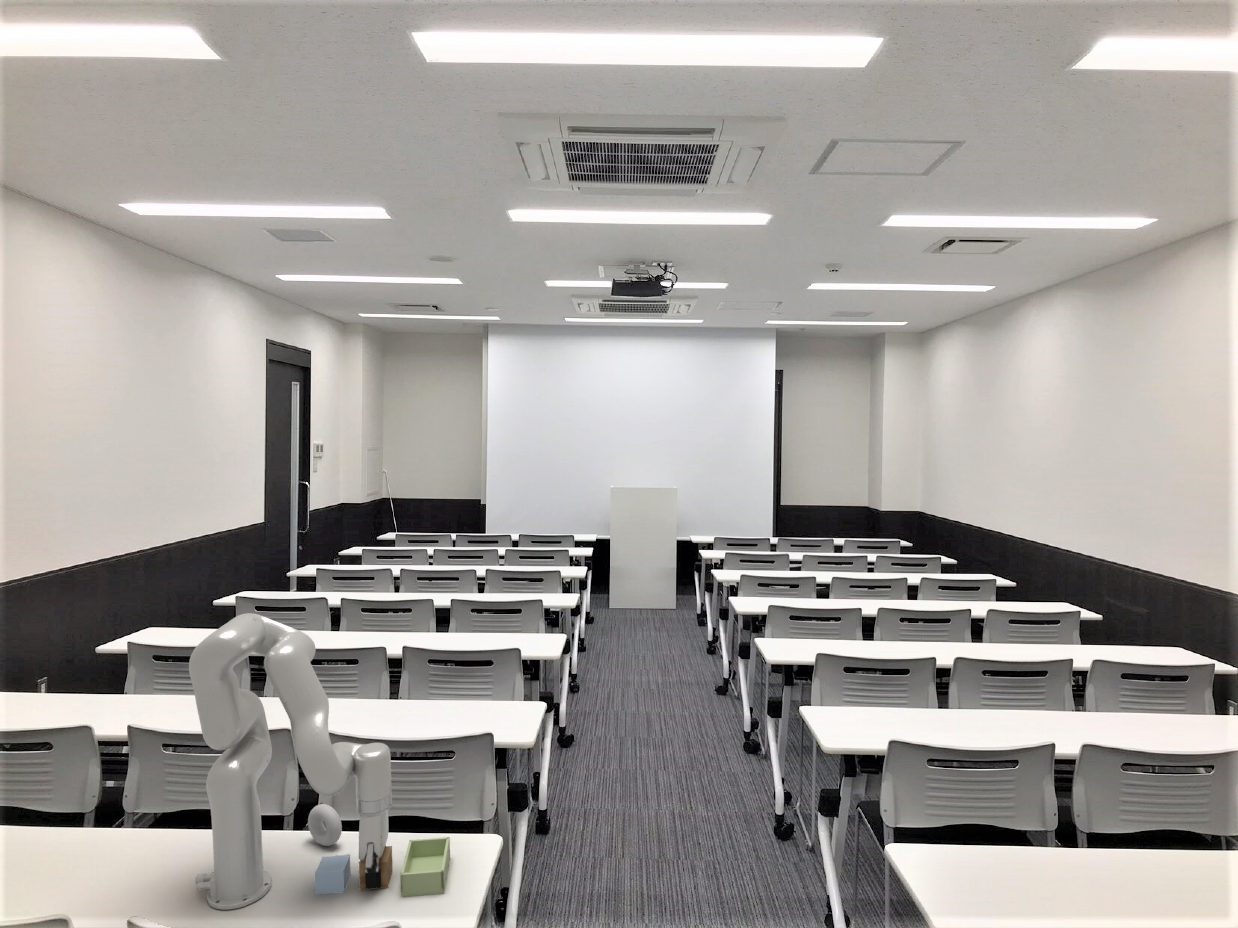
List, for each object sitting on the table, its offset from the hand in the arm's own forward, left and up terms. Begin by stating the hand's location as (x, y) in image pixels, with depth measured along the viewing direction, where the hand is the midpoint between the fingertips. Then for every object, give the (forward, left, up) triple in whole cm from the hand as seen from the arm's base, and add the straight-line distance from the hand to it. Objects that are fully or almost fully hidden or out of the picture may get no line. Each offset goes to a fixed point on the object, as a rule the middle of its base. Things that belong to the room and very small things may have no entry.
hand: (376, 877), depth 167 cm
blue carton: (-9, 0, -1) cm, 9 cm away
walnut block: (0, 0, -1) cm, 1 cm away
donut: (-15, +16, -1) cm, 22 cm away
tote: (+11, 0, -1) cm, 11 cm away
